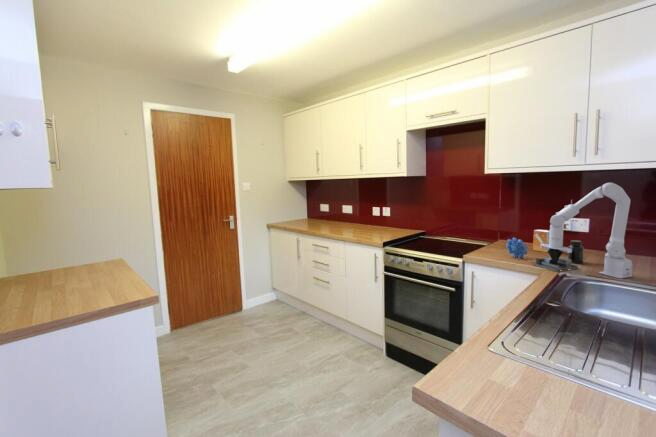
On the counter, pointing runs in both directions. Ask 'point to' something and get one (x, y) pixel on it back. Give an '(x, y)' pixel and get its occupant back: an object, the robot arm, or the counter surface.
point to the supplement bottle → (576, 252)
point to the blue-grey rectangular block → (547, 260)
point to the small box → (540, 239)
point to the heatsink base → (561, 264)
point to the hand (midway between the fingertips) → (554, 263)
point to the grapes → (516, 247)
